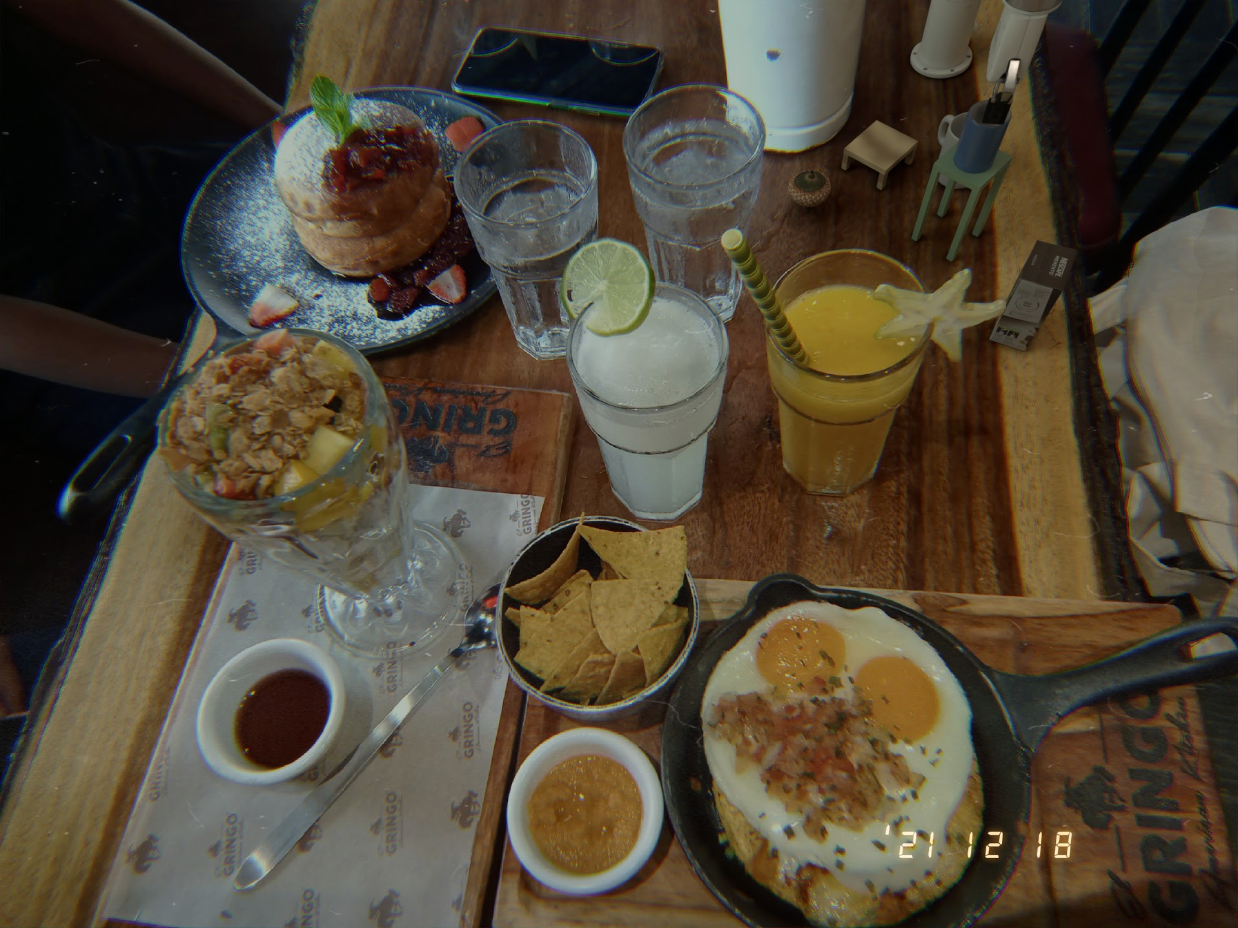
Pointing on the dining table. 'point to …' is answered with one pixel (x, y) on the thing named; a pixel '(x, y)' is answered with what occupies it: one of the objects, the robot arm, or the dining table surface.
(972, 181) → the tall green stool
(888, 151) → the low shelf
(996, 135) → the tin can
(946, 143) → the mug
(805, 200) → the acorn
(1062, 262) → the coffee box
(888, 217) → the dining table surface
